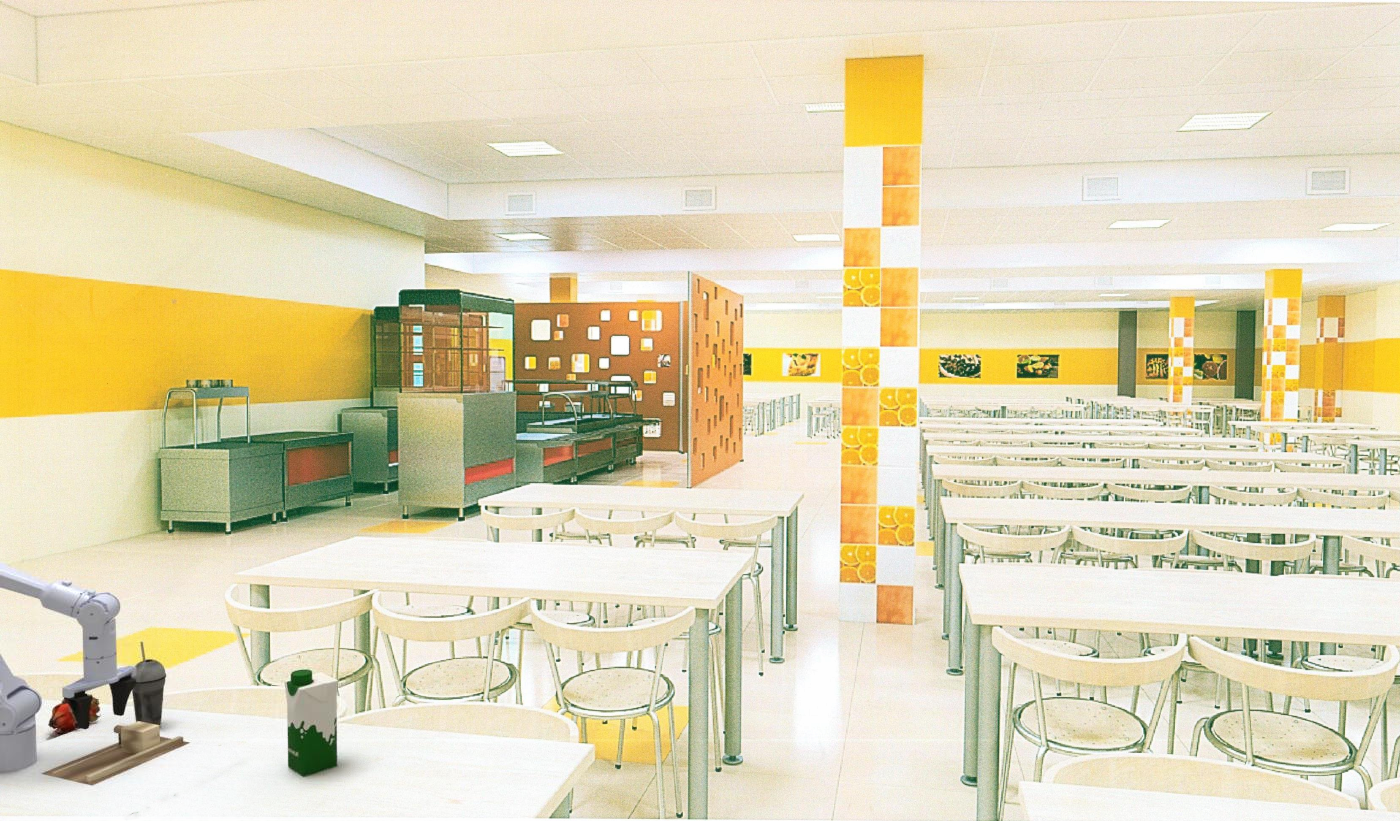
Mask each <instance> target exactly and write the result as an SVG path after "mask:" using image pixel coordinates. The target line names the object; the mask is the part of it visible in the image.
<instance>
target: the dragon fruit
mask: <svg viewBox="0 0 1400 821" xmlns="http://www.w3.org/2000/svg"><path fill="white" fill-rule="evenodd" d="M87 695H88V696H93V694H88V693H87ZM99 705H100V701H99V698H96V697H94V696H93V699H92V702H91V707H90V723H93V722H96V721H97V720H99V718H100V717H101V715H102V714H101V713H100V714H99V715H98V713H99V712H101V708H100V706H99ZM51 713H52V714H51V717H50V719H49V721H48V724H47V725H48V727H50V728H52V729H54V732H55V736H58V735H67V734H69V733H71V732H72V731H74V730H80V729H81V728H78V724H77V721H76V718H75V716H74V713H73V711H72V710H71V708H70V706H69V705H68V704H67V702H66V701H65V700H64V698H63V699H62V700H61V703H59V704H56V705H55V706H54V707H53V708H52V710H51ZM81 730H82V729H81Z"/></svg>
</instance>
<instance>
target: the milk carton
mask: <svg viewBox="0 0 1400 821" xmlns="http://www.w3.org/2000/svg"><path fill="white" fill-rule="evenodd" d="M284 687H285V688H284V689H285V696H286V697H285V698H286V704H287V705H286V713H287V714H286V718H287V720H286V721H287V767H288V768H289V769H291V770H293V771H294V772H295V773H297V774H299V775H300V776H301V777H303V778H304V777H307V776H310V775H311V776H312V775H314V774H317V773H321V772H323V771H327V770H330V769H333V768H336V767H338V722H337V721H338V714H337V711H338V710H337V709H338V708H337V706H338V705H337V704H338V701H337V700H338V699H337V698H338V687H339V679H337V678H334V677H332V676H330V675H328V674H326V673H325V672H322V671H320V672H317V673H313V671H312V670H310V669H299V670H298V669H297V670H294V671H292V672H291V673H290V679H286V680H284Z"/></svg>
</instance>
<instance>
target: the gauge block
mask: <svg viewBox="0 0 1400 821" xmlns="http://www.w3.org/2000/svg"><path fill="white" fill-rule="evenodd" d="M160 729H161V724H160V725H155V724H150V723H145V722H140V721H138V722H136V721H135V722H133V723H130V724H127V725H121V724H120V725H119V724H117V725H115V726H114V728H113V732H114V733H115V734H118V735H117V736H118V742H119V745H121V743H122V752H125V753H130V754H138V753H140V752H143V751H145V750H147V749H150V748H152V747H154V746H157V745H159V744H160V737H161V730H160Z"/></svg>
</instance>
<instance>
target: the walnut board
mask: <svg viewBox="0 0 1400 821" xmlns="http://www.w3.org/2000/svg"><path fill="white" fill-rule="evenodd" d="M190 743H191V742H189V741H184V736H181V735H178V736H176V737H173V738H171V737H164V736H160V744H159V745H157V746H154V747H152V748H150V749H147V750H145V751H143V752H140V753H138V754H130V753H125V752H122V743H121V745H119V741H118V742H115V743H113V744H110V745H108V746H106V747H104V748H101V749H99V750H96V751H93V752H91V753H89V754H86V755H83V756H81V757H79V758H76V759H74V760H71V761H69V762H67V763H64V764H61V765H58V766H56V767H54V768H51V769H49V770H46V771H44V772H42V773H41V774H42V775H45V776H50V777H53V778H58V779H62V780H66V781H71V782H76V783H80V784H84V785H89V786H95V785H96V784H99V783H102V782H104V781H106V780H108V779H111V778H113V777H115V776H118V775H120V774H123V773H125V772H126V771H129V770H131V769H133V768H136V767H139V766H140V765H143V764H145V763H148V762H150V761H152V760H153V759H156V758H159V757H160V756H163V755H165V754H168V753H170V752H172V751H174V750H177V749H179V748H182V747H184V746H186V745H189V744H190Z"/></svg>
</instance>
